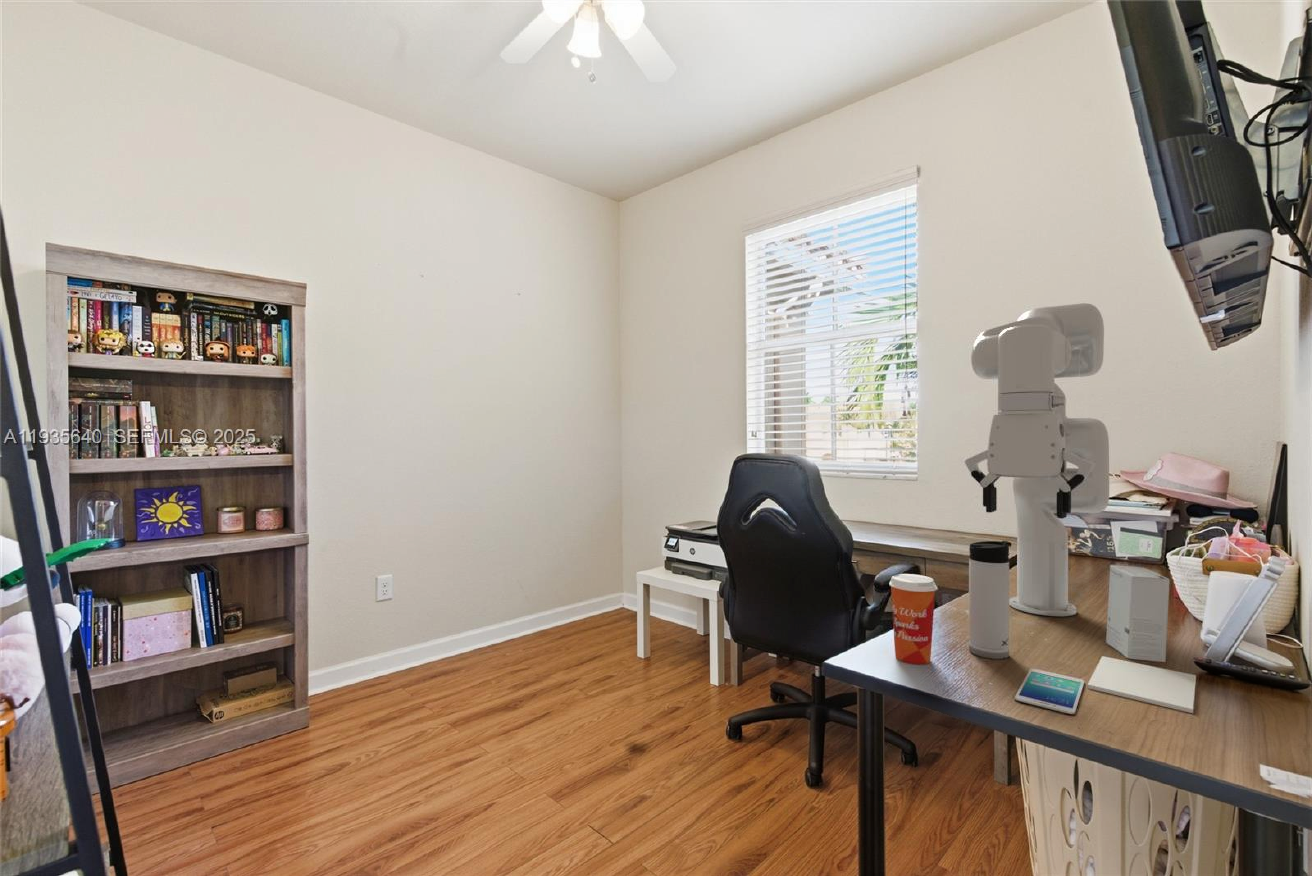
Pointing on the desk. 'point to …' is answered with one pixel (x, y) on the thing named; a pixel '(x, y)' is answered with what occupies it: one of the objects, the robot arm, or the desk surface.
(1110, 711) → the desk surface
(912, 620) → the paper cup
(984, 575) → the travel mug
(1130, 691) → the off-white mat
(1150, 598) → the skincare box
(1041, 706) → the smartphone
